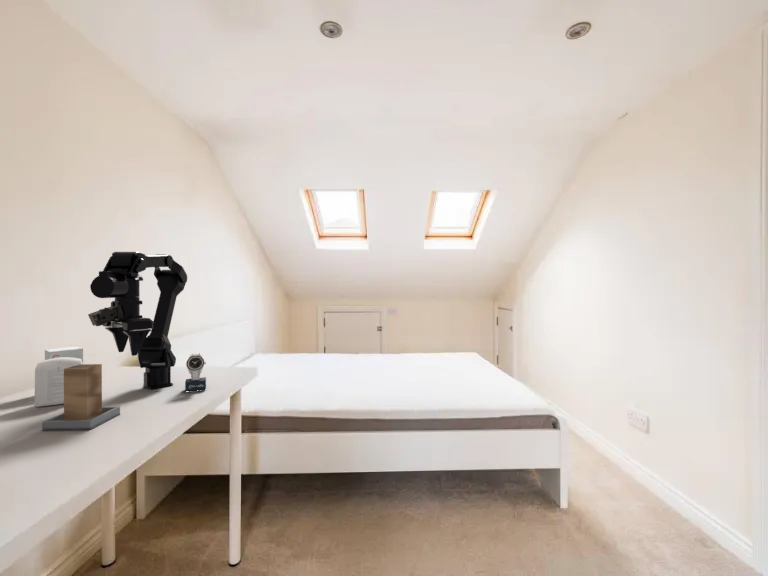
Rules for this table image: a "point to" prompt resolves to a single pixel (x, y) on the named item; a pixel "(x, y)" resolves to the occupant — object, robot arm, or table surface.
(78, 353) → the small box
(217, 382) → the table surface
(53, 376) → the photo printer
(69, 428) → the tray
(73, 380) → the walnut block
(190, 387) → the watch
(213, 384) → the table surface
